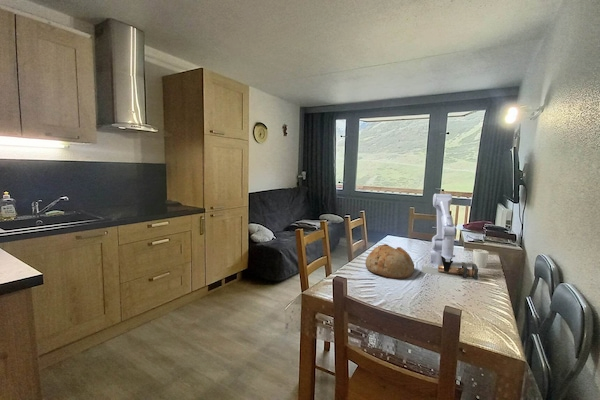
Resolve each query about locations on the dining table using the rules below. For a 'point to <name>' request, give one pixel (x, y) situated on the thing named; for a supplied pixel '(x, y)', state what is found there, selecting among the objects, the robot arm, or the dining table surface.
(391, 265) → the bread
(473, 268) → the collar
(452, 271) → the copper tube
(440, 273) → the pale gray board
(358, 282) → the dining table surface
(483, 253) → the white cup
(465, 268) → the dark gray arch
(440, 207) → the robot arm
